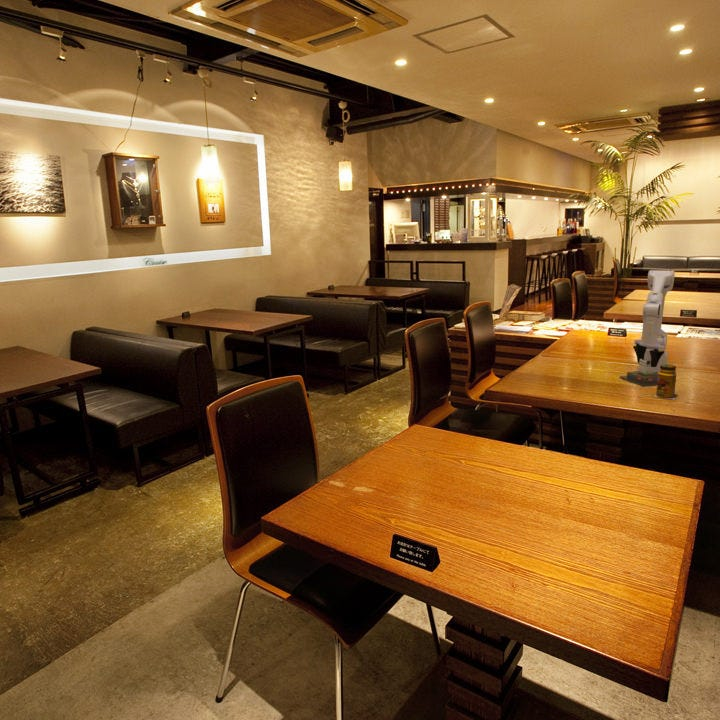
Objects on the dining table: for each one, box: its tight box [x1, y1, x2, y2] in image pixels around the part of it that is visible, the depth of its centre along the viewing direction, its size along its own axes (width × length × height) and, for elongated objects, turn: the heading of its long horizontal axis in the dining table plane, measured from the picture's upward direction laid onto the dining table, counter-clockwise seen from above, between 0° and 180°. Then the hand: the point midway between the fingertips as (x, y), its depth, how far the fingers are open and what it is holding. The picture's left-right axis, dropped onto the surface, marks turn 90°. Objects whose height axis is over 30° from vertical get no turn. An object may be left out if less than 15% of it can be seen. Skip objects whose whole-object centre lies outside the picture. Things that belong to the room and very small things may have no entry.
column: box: [637, 358, 654, 376], centre depth 227 cm, size 4×4×6 cm
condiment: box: [652, 364, 680, 400], centre depth 207 cm, size 7×8×12 cm
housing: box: [619, 370, 659, 388], centre depth 228 cm, size 14×14×3 cm
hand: (646, 364), depth 227 cm, fingers open, 7 cm apart
